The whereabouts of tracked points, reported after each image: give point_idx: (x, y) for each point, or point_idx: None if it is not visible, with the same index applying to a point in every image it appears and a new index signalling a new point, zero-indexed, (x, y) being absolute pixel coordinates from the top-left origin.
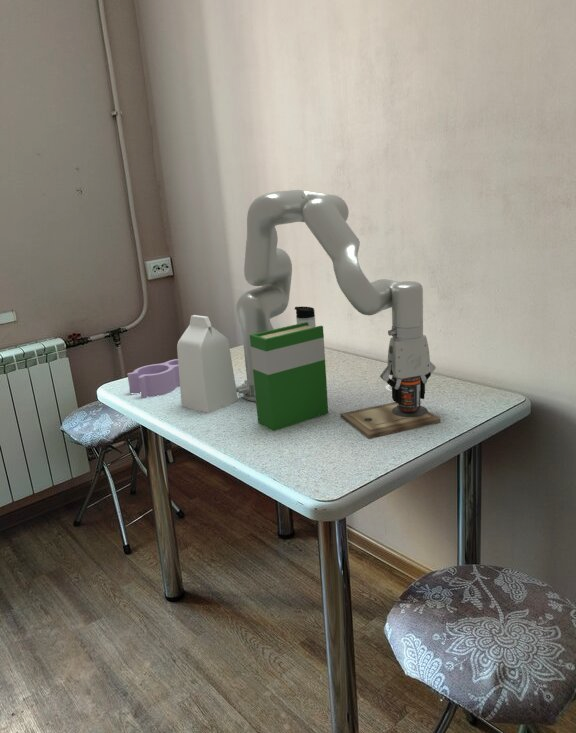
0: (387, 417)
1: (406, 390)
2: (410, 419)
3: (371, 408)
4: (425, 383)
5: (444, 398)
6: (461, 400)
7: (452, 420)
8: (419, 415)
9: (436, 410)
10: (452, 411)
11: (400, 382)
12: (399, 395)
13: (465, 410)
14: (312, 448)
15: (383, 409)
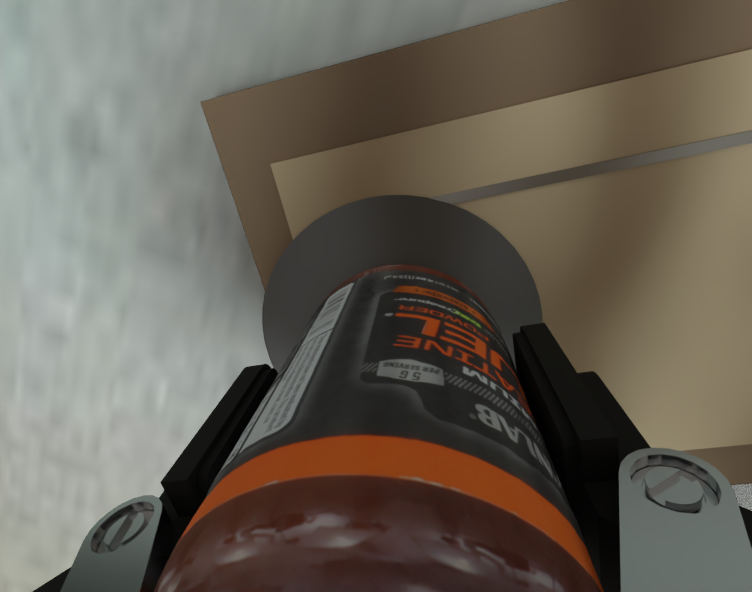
0: (632, 263)
1: (482, 396)
2: (464, 149)
3: None
4: (138, 500)
5: (119, 480)
6: (26, 423)
7: (119, 113)
8: (359, 208)
9: (199, 335)
10: (98, 283)
11: (626, 568)
12: (572, 372)
13: (10, 271)
14: None
15: None
